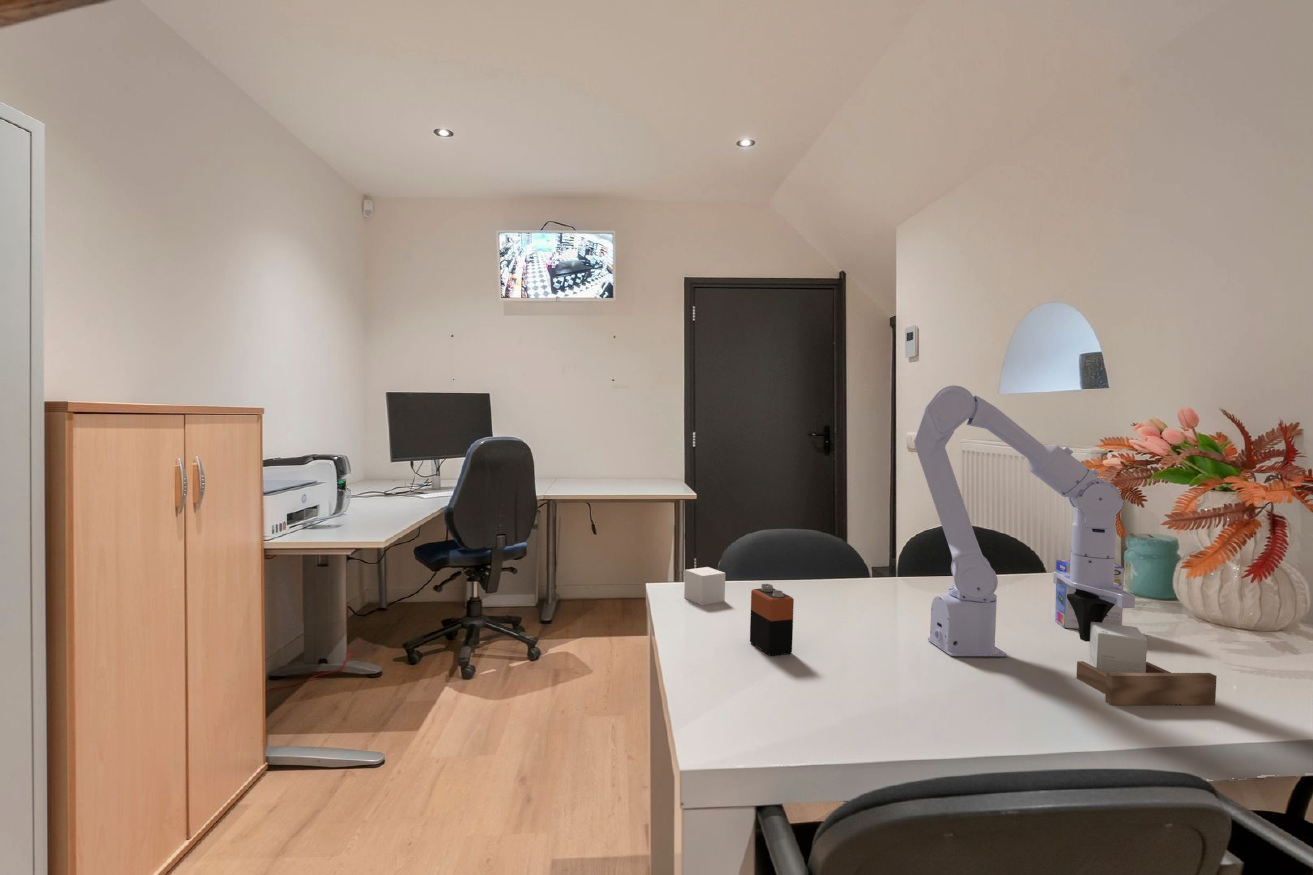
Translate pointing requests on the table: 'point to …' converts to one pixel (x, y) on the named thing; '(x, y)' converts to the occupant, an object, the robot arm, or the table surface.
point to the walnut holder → (1150, 686)
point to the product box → (1117, 648)
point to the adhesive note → (704, 585)
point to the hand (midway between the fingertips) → (1088, 640)
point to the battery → (771, 620)
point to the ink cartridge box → (1063, 606)
